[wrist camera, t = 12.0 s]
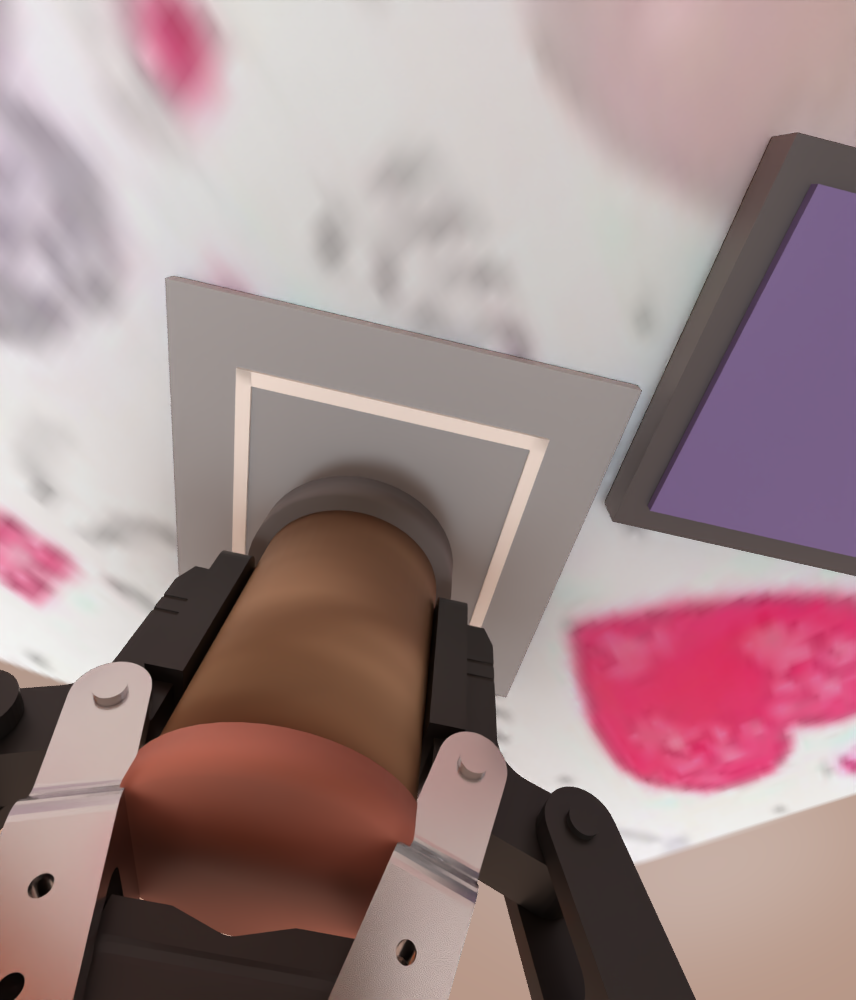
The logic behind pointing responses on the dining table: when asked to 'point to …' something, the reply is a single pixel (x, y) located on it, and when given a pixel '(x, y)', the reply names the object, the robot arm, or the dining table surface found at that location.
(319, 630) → the stamp
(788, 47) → the dining table surface
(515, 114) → the dining table surface
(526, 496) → the grey square plate
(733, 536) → the ink pad
